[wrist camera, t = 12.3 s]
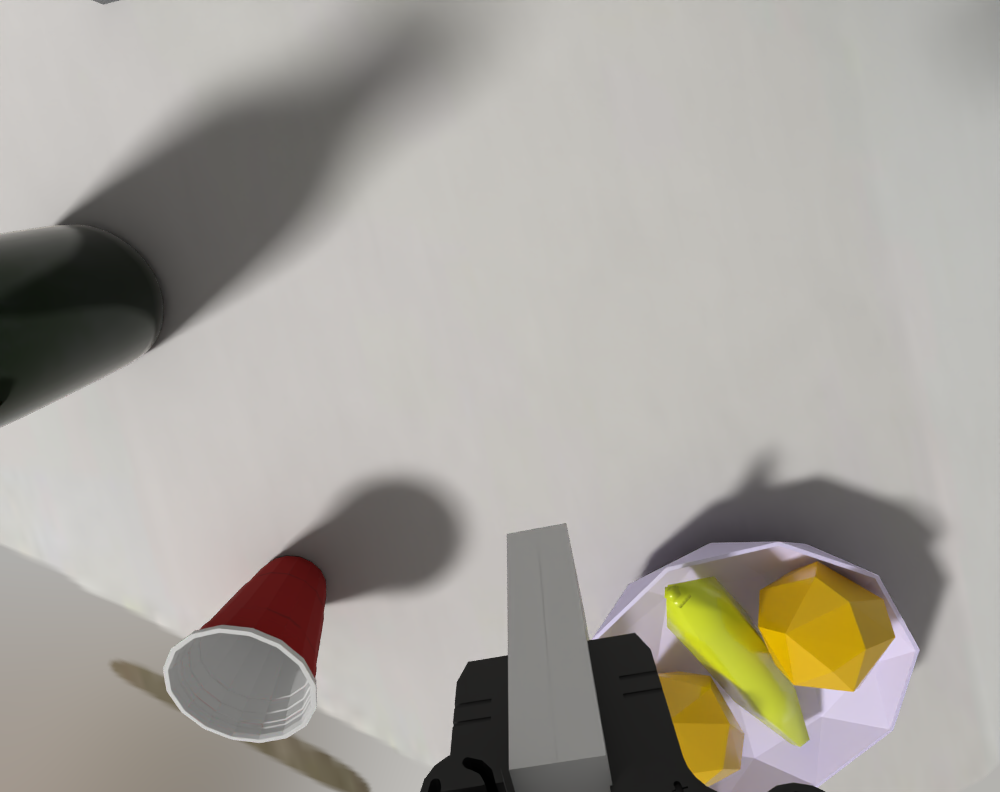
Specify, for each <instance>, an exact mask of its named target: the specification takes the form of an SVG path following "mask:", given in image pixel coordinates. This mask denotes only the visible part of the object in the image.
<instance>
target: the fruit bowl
mask: <svg viewBox="0 0 1000 792" xmlns="http://www.w3.org/2000/svg"><path fill="white" fill-rule="evenodd" d="M630 633H636V634H637V635H638V636H639V637H640V638H641V639H642V641H643V642H644V643H645V644H646V645H647V646H648V647H649V648H650V649H651V652H652V655H653V659H654V662H655V665H656V668H657V672H658V675H659V678H660V682H661V685H662V689H663V692H664V695H665V698H666V702H667V705H668V708H669V711H670V715H671V718H672V721H673V725H674V728H675V731H676V735H677V738H678V741H679V745H680V748H681V751H682V755H683V757H684V760H685V762H686V764H687V766H688V768H689V769H690V770H691V772H692V773H693V774H694V776H695V777H696V778H697V779H699V780H700V781H701V782H702V783H703V784H705V785H706V786H707V787H709V788H711V789H713V790H715V791H717V792H768V791H769V790H771V789H772V788H774V787H775V786H777V785H782V784H787V783H793V782H794V783H800V784H807V785H813V786H815V787H819V786H820V785H821V784H823V783H824V782H825V781H827V780H828V779H829V778H831V777H832V776H833V775H835V774H836V773H837V772H839V771H840V770H841V769H843V768H844V767H845V766H847V765H848V764H849V763H850V762H852V761H853V760H854V759H856V758H857V757H858V756H860V755H861V754H862V753H864V752H865V751H866V750H868V749H869V748H870V747H872V746H873V745H874V744H876V743H877V742H878V741H880V740H881V739H882V738H884V737H885V736H886V735H888V734H889V733H890V732H892V731H893V729H894V726H895V723H896V720H897V717H898V714H899V711H900V708H901V705H902V702H903V699H904V696H905V693H906V690H907V687H908V684H909V681H910V678H911V675H912V672H913V669H914V666H915V663H916V660H917V656H918V653H919V650H920V649H919V647H918V645H917V644H916V642H915V640H914V638H913V636H912V635H911V633H910V631H909V629H908V627H907V626H906V624H905V622H904V620H903V618H902V617H901V615H900V613H899V611H898V609H897V608H896V606H895V604H894V602H893V600H892V599H891V597H890V595H889V593H888V591H887V590H886V588H885V586H884V584H883V582H882V581H881V579H880V577H879V575H877V574H875V573H873V572H870V571H868V570H866V569H863V568H861V567H859V566H856V565H854V564H852V563H849V562H847V561H845V560H843V559H840V558H838V557H836V556H833V555H831V554H829V553H826V552H824V551H822V550H819V549H817V548H815V547H812V546H810V545H808V544H804V543H791V542H723V543H709V544H707V545H705V546H703V547H701V548H699V549H697V550H695V551H693V552H691V553H689V554H687V555H685V556H683V557H681V558H679V559H677V560H675V561H673V562H672V563H670V564H668V565H666V566H664V567H662V568H660V569H658V570H656V571H654V572H652V573H650V574H648V575H646V576H644V577H642V578H640V579H638V580H636V581H634V582H632V583H630V584H629V585H628V586H627V588H626V589H625V591H624V592H623V594H622V595H621V597H620V598H619V600H618V601H617V603H616V604H615V606H614V607H613V609H612V610H611V612H610V613H609V615H608V616H607V618H606V619H605V621H604V622H603V624H602V625H601V627H600V628H599V630H598V631H597V633H596V634H595V636H594V637H593V639H592V640H594V639H600V638H606V637H612V636H618V635H624V634H630Z"/></svg>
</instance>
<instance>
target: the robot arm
mask: <svg viewBox="0 0 1000 792" xmlns="http://www.w3.org/2000/svg"><path fill="white" fill-rule="evenodd" d="M507 594H508V655H507V656H501V657H495V658H489V659H483V660H477V661H471V662H468V663H467V665H466V667H465V669H464V670H463V672H462V674H461V676H460V678H459V679H458V681H457V686H456V697H455V709H454V719H453V724H454V727H453V730H452V741H451V752H450V756H448V757H446V758H445V759H443V760H442V761H441V762H439V763H438V764H436V765H435V766H434V767H433V769H432V770H431V771H430V773H429V774H428V775H427V777H426V778H425V779H424V782H423V785H422V788H421V791H420V792H717V791H715V790H713V789H711V788H709V787H707V786H706V785H705V784H703V783H702V782H701V781H700V780H699V779H697V778H696V777H695V776H694V774H693V773H692V772H691V770H690V769H689V768H688V766H687V764H686V762H685V760H684V757H683V755H682V751H681V748H680V745H679V741H678V738H677V735H676V731H675V728H674V725H673V721H672V718H671V715H670V711H669V708H668V705H667V702H666V698H665V695H664V692H663V689H662V685H661V682H660V678H659V675H658V672H657V668H656V665H655V662H654V659H653V655H652V652H651V649H650V648H649V647H648V646H647V645H646V644H645V643H644V642H643V641H642V639H641V638H640V637H639V636H638V635H637V634H636V633H630V634H624V635H618V636H612V637H606V638H600V639H594V640H589V636H588V630H587V625H586V619H585V614H584V608H583V604H582V599H581V594H580V589H579V584H578V579H577V574H576V569H575V564H574V559H573V554H572V550H571V545H570V540H569V535H568V530H567V525H566V523H565V524H559V525H554V526H548V527H543V528H537V529H532V530H526V531H521V532H515V533H510V534H507ZM768 792H825V791H823V790H821V789H819V788H817V787H815V786H813V785H807V784H800V783H794V782H793V783H787V784H782V785H777V786H775V787H774V788H772V789H771V790H769V791H768Z"/></svg>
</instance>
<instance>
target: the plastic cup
mask: <svg viewBox="0 0 1000 792" xmlns="http://www.w3.org/2000/svg"><path fill="white" fill-rule="evenodd" d="M325 601H326V580H325V578H324V576H323V574H322V572H321V570H320V569H319V568H318V567H317V566H316V565H314V564H313V563H312V562H311V561H308V560H306V559H304V558H301V557H297V556H283V557H280V558H276V559H274V560H272V561H271V562H269V563H268V564H267V565H266V566H264V567H263V568H262V569H261V570H260V571H259V572H258V573H257V574H256V575H255V576H254V577H253V578H252V579H251V580H250V581H249V582H248V583H246V584H245V585H244V586H243V587H242V588H241V589H240V590H239V591H238V592H237V593H236V594H235V595H234V596H233V597H232V598H231V599H230V600H229V601H228V602H227V603H226V604H225V605H224V606H223V608H222V609H221V610H220V611H219V612H218V613H217V614H216V615H215V616H214V617H213V618H212V619H211V620H210V621H209V622H207V623H206V624H205V625H203V626H202V628H201V629H199V630H196V631H194V632H193V633H191V634H190V635H189V636H187V637H186V638H185V639H183V640H182V641H180V642H179V643H178V644H177V645H175V646H174V647H173V648H171V651H170V653H169V655H168V658H167V660H166V663H165V665H164V667H163V672H164V678H165V684H166V690H167V692H168V693H169V695H170V696H171V698H172V699H173V701H174V702H175V704H176V705H177V706H178V708H179V709H180V711H181V712H182V713H183V714H185V715H186V716H187V717H189V718H190V719H191V720H193V721H194V722H195V723H197V724H198V725H200V726H201V727H202V728H204V729H206V730H208V731H211V732H213V733H216V734H219V735H221V736H224V737H226V738H229V739H231V740H240V741H248V742H257V743H262V742H268V741H273V740H279V739H284V738H287V737H289V736H291V735H292V734H294V733H295V732H297V731H299V730H300V729H302V728H304V727H305V726H306V725H307V724H308V722H309V720H310V718H311V717H312V715H313V713H314V711H315V710H316V708H317V691H316V679H315V676H316V663H317V657H318V651H319V645H320V639H321V632H322V626H323V620H324V607H325Z"/></svg>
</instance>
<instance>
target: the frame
mask: <svg viewBox="0 0 1000 792" xmlns="http://www.w3.org/2000/svg"><path fill="white" fill-rule="evenodd" d="M93 1H96V2H98V3H101V4H107V3H111V2H115V1H119V0H93Z"/></svg>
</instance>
